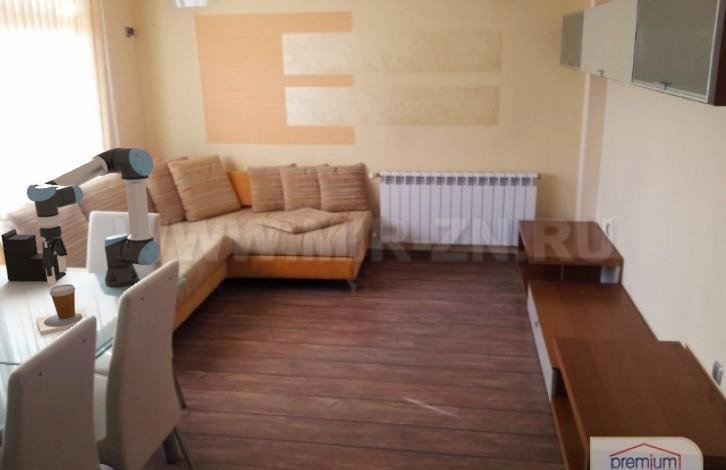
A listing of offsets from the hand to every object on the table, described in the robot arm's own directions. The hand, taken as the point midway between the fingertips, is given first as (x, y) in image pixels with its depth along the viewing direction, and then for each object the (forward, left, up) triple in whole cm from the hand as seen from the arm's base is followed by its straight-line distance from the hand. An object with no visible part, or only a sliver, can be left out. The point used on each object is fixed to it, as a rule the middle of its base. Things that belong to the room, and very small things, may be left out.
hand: (57, 277), depth 237 cm
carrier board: (0, 0, -20) cm, 20 cm away
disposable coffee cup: (-1, -3, -18) cm, 18 cm away
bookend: (+3, -67, -20) cm, 70 cm away
